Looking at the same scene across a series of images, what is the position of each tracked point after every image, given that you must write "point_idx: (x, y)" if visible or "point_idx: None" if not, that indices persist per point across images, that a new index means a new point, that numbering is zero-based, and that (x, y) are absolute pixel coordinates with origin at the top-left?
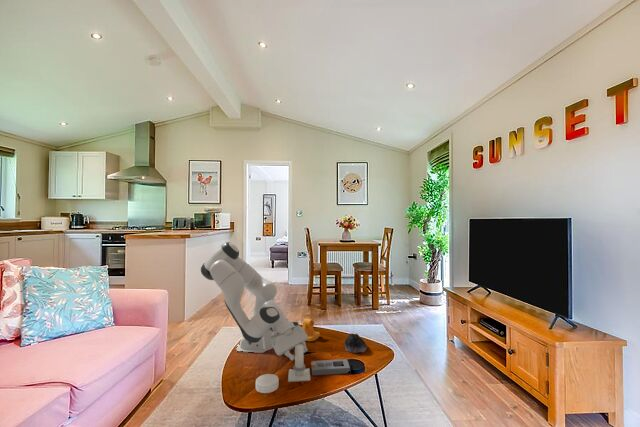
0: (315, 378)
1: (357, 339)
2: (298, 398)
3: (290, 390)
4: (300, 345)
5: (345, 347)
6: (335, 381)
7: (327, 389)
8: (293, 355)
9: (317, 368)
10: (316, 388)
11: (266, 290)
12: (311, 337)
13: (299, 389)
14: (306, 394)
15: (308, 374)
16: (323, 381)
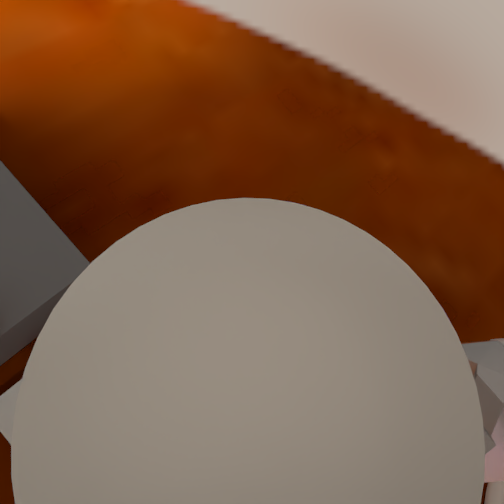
0: (139, 215)
1: None
2: (478, 151)
3: (458, 281)
4: (161, 407)
5: None
6: (77, 34)
7: (232, 34)
8: (498, 382)
9: (15, 229)
10: (279, 112)
11: None
12: None
13: (391, 224)
14: (399, 131)
15: None
16: (142, 120)
